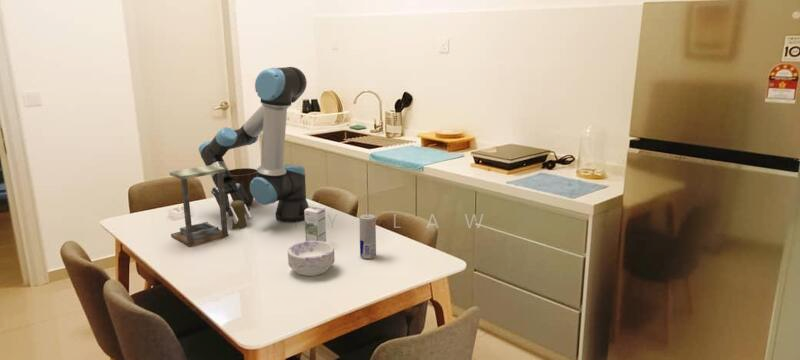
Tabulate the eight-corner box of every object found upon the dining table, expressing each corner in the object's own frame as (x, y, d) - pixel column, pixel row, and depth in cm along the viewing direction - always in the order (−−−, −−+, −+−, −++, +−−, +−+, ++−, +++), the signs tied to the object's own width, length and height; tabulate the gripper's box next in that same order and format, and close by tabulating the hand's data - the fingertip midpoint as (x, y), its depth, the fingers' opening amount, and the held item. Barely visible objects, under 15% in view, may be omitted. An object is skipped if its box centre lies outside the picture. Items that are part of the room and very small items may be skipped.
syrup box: (327, 244, 207) (325, 207, 204) (318, 249, 202) (316, 211, 198) (314, 241, 210) (312, 205, 206) (305, 247, 204) (303, 209, 201)
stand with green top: (210, 226, 227) (205, 162, 220) (230, 236, 216) (225, 168, 209) (169, 237, 215) (162, 169, 209) (188, 247, 204) (181, 176, 197)
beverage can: (378, 254, 197) (377, 214, 193) (372, 260, 192) (371, 219, 188) (363, 252, 199) (363, 213, 195) (357, 258, 193) (356, 217, 190)
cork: (244, 229, 224) (242, 203, 222) (229, 229, 224) (227, 203, 222) (248, 224, 230) (246, 198, 227) (234, 224, 230) (232, 198, 228)
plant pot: (220, 208, 251) (217, 174, 247) (235, 199, 266) (232, 167, 262) (251, 210, 249) (249, 176, 245) (264, 201, 263) (262, 168, 259)
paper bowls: (314, 284, 173) (313, 260, 171) (279, 273, 181) (277, 251, 179) (344, 267, 186) (343, 245, 184) (309, 258, 194) (308, 237, 192)
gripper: (237, 175, 240) (260, 220, 232) (197, 183, 227) (220, 230, 220) (242, 165, 235) (266, 210, 228) (202, 173, 222) (225, 220, 215)
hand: (243, 220), depth 224 cm, fingers closed on cork, 5 cm apart
